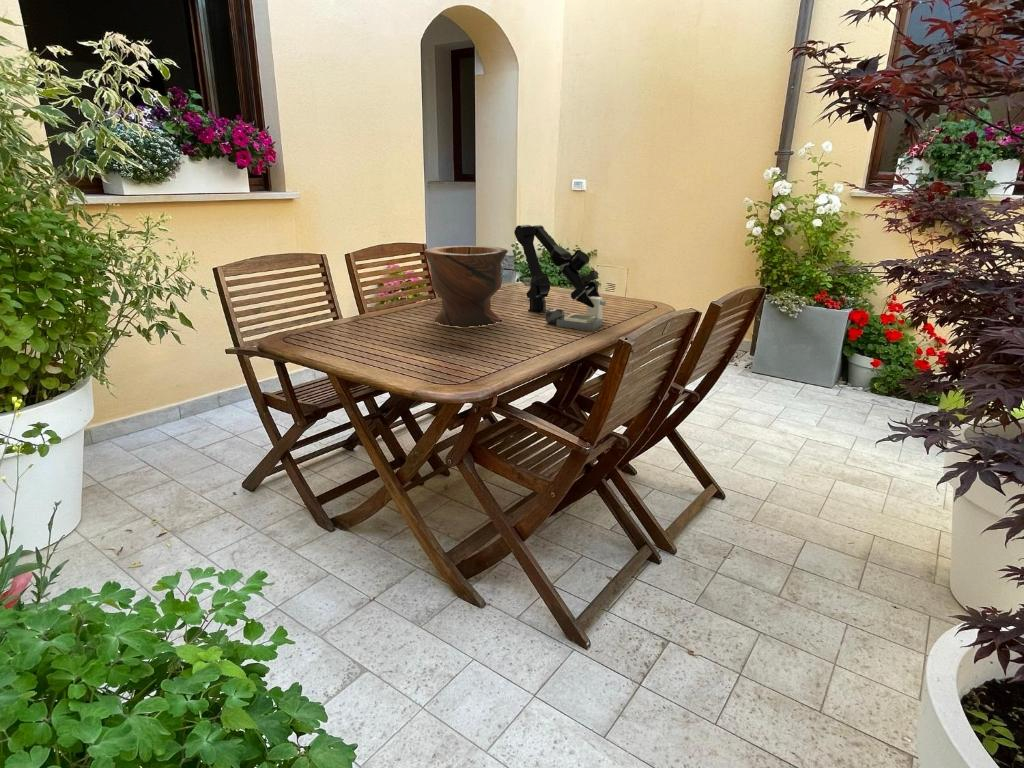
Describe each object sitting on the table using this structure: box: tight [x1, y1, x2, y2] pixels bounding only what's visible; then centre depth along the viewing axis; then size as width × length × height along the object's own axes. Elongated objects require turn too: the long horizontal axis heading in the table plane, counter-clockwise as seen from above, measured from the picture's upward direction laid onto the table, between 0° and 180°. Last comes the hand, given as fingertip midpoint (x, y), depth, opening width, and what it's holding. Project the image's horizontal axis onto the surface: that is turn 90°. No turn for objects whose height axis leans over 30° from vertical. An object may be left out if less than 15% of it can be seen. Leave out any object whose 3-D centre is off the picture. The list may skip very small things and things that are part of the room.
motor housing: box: [544, 308, 603, 332], centre depth 250 cm, size 22×10×6 cm, turn 62°
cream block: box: [586, 296, 607, 320], centre depth 257 cm, size 7×5×10 cm
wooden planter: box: [423, 245, 508, 327], centre depth 255 cm, size 34×35×29 cm
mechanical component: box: [521, 277, 531, 289], centre depth 303 cm, size 3×10×10 cm, turn 89°
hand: (597, 305), depth 256 cm, fingers open, 9 cm apart
